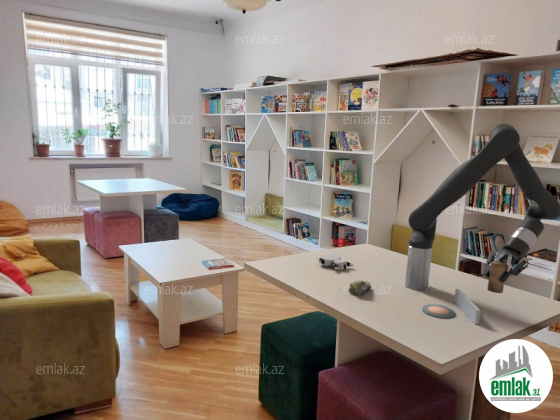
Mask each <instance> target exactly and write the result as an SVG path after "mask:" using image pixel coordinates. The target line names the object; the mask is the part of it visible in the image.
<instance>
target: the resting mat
mask: <svg viewBox="0 0 560 420" xmlns="http://www.w3.org/2000/svg"><path fill="white" fill-rule="evenodd" d="M421 311H422V312H423V313H424V314H426V315H428V316H431V317H433V318H438V319H451V318H454V317H456V312H455V311H454V309H452V308H450V307H448V306H445V305H441V304H435V303H434V304H432V303H431V304H430V303H428V304H424V305H422V308H421Z"/></svg>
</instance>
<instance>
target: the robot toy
mask: <svg viewBox="0 0 560 420" xmlns="http://www.w3.org/2000/svg"><path fill="white" fill-rule="evenodd" d="M315 259H316V260H318V262H319V264H321V265H322V266H323V267H329V266H331V267H332V268H333V270H335V271H336V270H338V271H342V270H347V267H348V268H351V267H354V264H353V263H351V262H349V261H345V260H343V259H342V257H341V256H339V255H337V254H335V253H326V254H322V255H320V256H319V258H318V257H316V256H315Z"/></svg>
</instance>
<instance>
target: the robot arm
mask: <svg viewBox="0 0 560 420" xmlns="http://www.w3.org/2000/svg"><path fill="white" fill-rule="evenodd" d="M520 142H521V136H520V134H519V133H518V130H517V129H516V127H514V126H512V125H511V124H507V123H499V124H497V125H495V126H494V127H492V129H491V130H490V132H489V136H488V142H487V143H485V145H484V146H483V147H482V148H481V150H479V152H478V153H477V154H475V155H474V156H473V157H471V158H470V159H468V160H466V161H465V162H463V163H461V164H460V165H458V166H457V167H456V168H455V169H454V170H453V171H452V172H451V173H450V174H449V175H448V176H447V177H446V178H445V179H444V181H442V183H441V184H440V185H439V186H438V187H437V188H436V190H435V191H434V192H433V193H432V194H431V195H430V197H428V198H427V199H426V200H425V201H424V202H422V203H421V204H420V205H419V206H417V207H416V208H415V209H414V210H412V212H411V213H410V214H409V216H408V225H409V227H410V228H411V229H412V232H411V234H410V237H409V239H408V249H407V250H408V251H407V258H406V259H407V260H406V272H405V283H404V285H405V287H408V288H410V289H413V290H419V291H420V290H423V291H424V290H428V289H429V285H430V283H429V282H430V274H431V263H432V254H433V252H432V251H433V244H434V241H435V237H436V230H437V222H438V221H437V220H438V219H437V218H438V217H439V216H440V215H441V214H442V213H443V212H444V211H445V210H446V209H447V208H449V207H451V206H452V205H453V204H455V203H457V202H458V201H459V200H460V199H462V198H463V197H464V196H465V195H466V194H467V193H469V192H470V191H471V190H472V189H473V188H474V187H475V186H476V185H477V184H478V183H479V182H480V181H481V180H482V179H483V178H484V177H485V176H486V174H488V173H489V172H490V171H491V170H492V169H493V168H494V167H495V166H496V165H497V164H498V163H500V162H501V161H502V160H503V159H504V160H505V162H506V163H507V165H508V167H509V169H510V171H511V174H512V175H513V177H514V179H515V182H516V183H517V186H518V187H519V189H520V191H521V192H522V195H523V196H524V198H526V200H529V201H532V203H530V205H528V208H527V209H526V213H525V215H524V218H523V221H522V222H521V223H520V224H519V226H518V227H517V228H516V230H515V231H514V232H513V233H512V234H511V235H510V237H509V238H508V239H507V241H506V242H505V243H504V245H503V246H502V249H501V250H500V251H495V250H494V249H492V250H490V252H489V253H488V257H487V259H486V261H485V263H486V265H487V266H488V267H487V268H486V270H485V271H484V276H485V278H488V279H489V274H490V267H491V262H502V263H505V264H507V268H506V272H505V271H504V272H503V274H502V275H501V276H500V278H499V281H500V282H501V283H503V282H504V283H505V282H506V281H508V279H509V278H510V277H511V276H515V277H517V276H519V274H521V273H523V271H525V269H526V268H528V267H529V264H528V262H527V260H525V259H524V258H525V256H527V254H528V253H529V251H530V250H531V248H532V247H533V246H534V245H535V243H536V241H537V240H538V238H539V236H540V235H541V234H542V232H543V231H544V229H545V225H544V223H543V222H542V221H541V220H547V221H548V220H550V221H551V220H557V219H558V218H560V202H559V201H558V199H557V198H556V197H555V196H554V195H553V194H552V193H551V192H550V191H549V190H547V188H546V187H545V185H544V184H543V182H542V180H541V178H540V177H539V174H537V172H536V171H535V169H534V167H533V165H531V163H530V161H529V160H528V158H527V157H526V155H525V153H524V152H523V149H522V147H521V145H520Z"/></svg>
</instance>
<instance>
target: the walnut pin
mask: <svg viewBox="0 0 560 420" xmlns="http://www.w3.org/2000/svg"><path fill="white" fill-rule="evenodd" d="M506 268H507V264H505V263H502V262H499V261H498V262H491V267H490V274H489V278H488V282H487V283H488V284H487V289H486V290H487V291H488V292H491V293H495V294H503V293H504V287H505V282H503V283H501V282H500V281H499V278H500V276H501V275H502V274H503V272H504V271H505V272H506Z"/></svg>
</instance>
